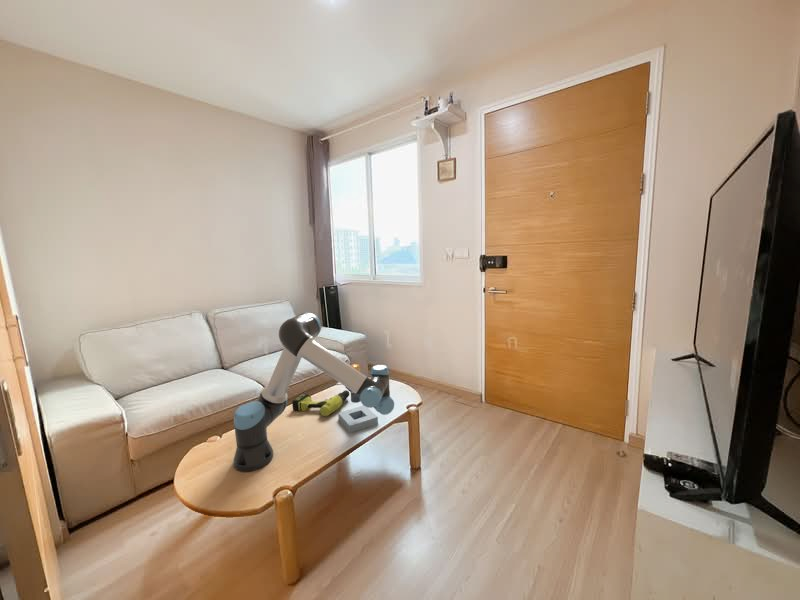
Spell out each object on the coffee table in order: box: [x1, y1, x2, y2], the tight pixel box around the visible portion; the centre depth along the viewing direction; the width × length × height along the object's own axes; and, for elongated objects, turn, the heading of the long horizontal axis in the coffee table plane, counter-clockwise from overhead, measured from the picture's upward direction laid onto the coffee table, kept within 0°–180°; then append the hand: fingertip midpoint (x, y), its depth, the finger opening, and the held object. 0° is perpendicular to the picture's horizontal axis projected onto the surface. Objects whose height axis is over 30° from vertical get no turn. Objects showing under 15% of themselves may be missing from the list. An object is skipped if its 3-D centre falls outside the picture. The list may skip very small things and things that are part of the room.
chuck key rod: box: [349, 363, 361, 404], centre depth 162 cm, size 5×5×18 cm
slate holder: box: [338, 404, 379, 433], centre depth 166 cm, size 15×15×4 cm
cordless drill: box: [291, 389, 350, 417], centre depth 184 cm, size 7×25×25 cm
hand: (351, 377), depth 166 cm, fingers closed on chuck key rod, 5 cm apart
